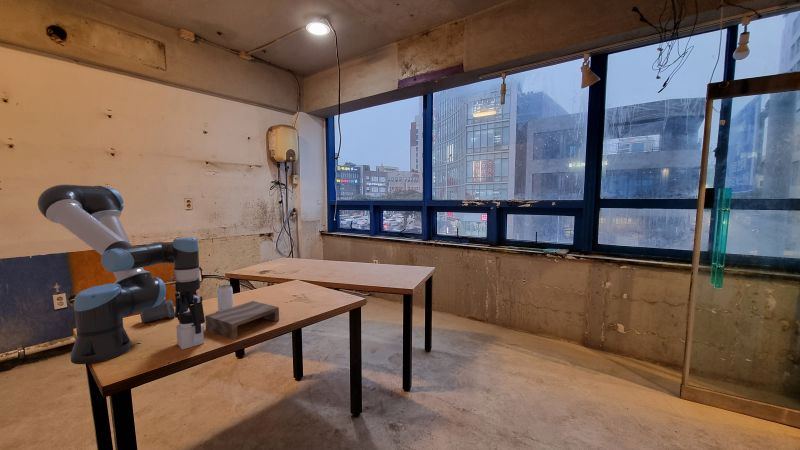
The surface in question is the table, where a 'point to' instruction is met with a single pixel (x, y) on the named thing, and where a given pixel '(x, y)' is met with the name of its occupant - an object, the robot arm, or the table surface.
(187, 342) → the medicine bottle
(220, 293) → the can
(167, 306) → the pipe fitting
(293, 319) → the table surface
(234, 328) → the shelf stand
